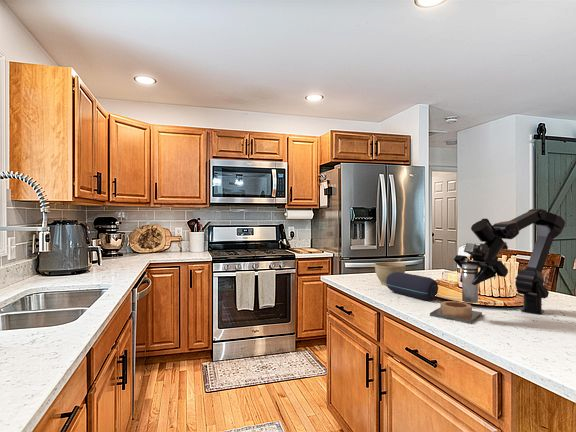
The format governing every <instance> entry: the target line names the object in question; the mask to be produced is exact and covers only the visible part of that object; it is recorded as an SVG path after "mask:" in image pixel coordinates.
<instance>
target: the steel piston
mask: <svg viewBox="0 0 576 432" xmlns="http://www.w3.org/2000/svg"><path fill="white" fill-rule="evenodd" d="M461 272H462V282H461V287H462V288H461V292H462V293H461V295H462V296H461V300H462V301H461V302H463V303H467V304H476V303H479V284H477V285H473V284H472V283H473V281H474V279H475V277H476V276H477V274H478V273H479V268H478V265H476V264H462V269H461Z"/></svg>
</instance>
